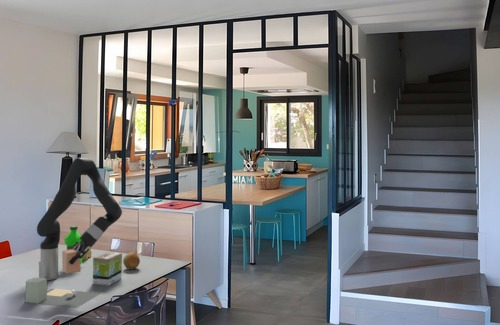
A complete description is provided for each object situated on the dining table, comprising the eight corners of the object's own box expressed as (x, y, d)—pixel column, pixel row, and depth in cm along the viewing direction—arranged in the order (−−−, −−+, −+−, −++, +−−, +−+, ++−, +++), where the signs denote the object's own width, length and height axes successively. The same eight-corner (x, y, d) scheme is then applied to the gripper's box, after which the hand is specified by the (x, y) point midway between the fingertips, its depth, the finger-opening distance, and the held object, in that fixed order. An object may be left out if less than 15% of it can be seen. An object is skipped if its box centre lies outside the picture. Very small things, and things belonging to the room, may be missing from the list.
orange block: (66, 273, 237) (66, 253, 237) (62, 270, 243) (62, 250, 242) (80, 271, 241) (80, 251, 241) (76, 268, 247) (75, 248, 246)
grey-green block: (25, 302, 234) (25, 281, 234) (34, 297, 241) (34, 277, 240) (38, 303, 233) (38, 282, 232) (46, 298, 239) (46, 278, 239)
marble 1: (65, 298, 240) (65, 292, 240) (68, 296, 243) (68, 290, 243) (70, 299, 239) (70, 293, 239) (74, 297, 242) (74, 291, 242)
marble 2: (68, 296, 243) (68, 290, 243) (72, 294, 246) (72, 288, 246) (74, 297, 243) (74, 291, 243) (77, 295, 246) (77, 289, 245)
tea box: (109, 286, 263) (109, 258, 262) (92, 284, 265) (92, 257, 264) (122, 278, 278) (122, 252, 277) (105, 277, 280) (105, 251, 279)
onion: (119, 270, 294) (119, 253, 294) (128, 266, 304) (128, 250, 303) (134, 271, 291) (134, 255, 291) (142, 267, 301) (142, 251, 300)
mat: (23, 303, 234) (23, 302, 234) (52, 289, 255) (52, 288, 255) (76, 309, 228) (76, 307, 228) (101, 294, 249) (101, 293, 249)
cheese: (91, 256, 327) (91, 241, 326) (86, 260, 316) (86, 245, 316) (75, 256, 327) (75, 241, 326) (70, 260, 316) (70, 245, 315)
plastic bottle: (86, 266, 301) (86, 226, 300) (71, 270, 292) (71, 228, 291) (75, 264, 306) (75, 224, 305) (61, 267, 297) (60, 226, 296)
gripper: (81, 228, 251) (58, 254, 245) (91, 233, 240) (66, 260, 233) (92, 237, 255) (68, 263, 248) (102, 242, 243) (78, 269, 237)
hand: (68, 261), depth 241 cm, fingers closed on orange block, 6 cm apart
